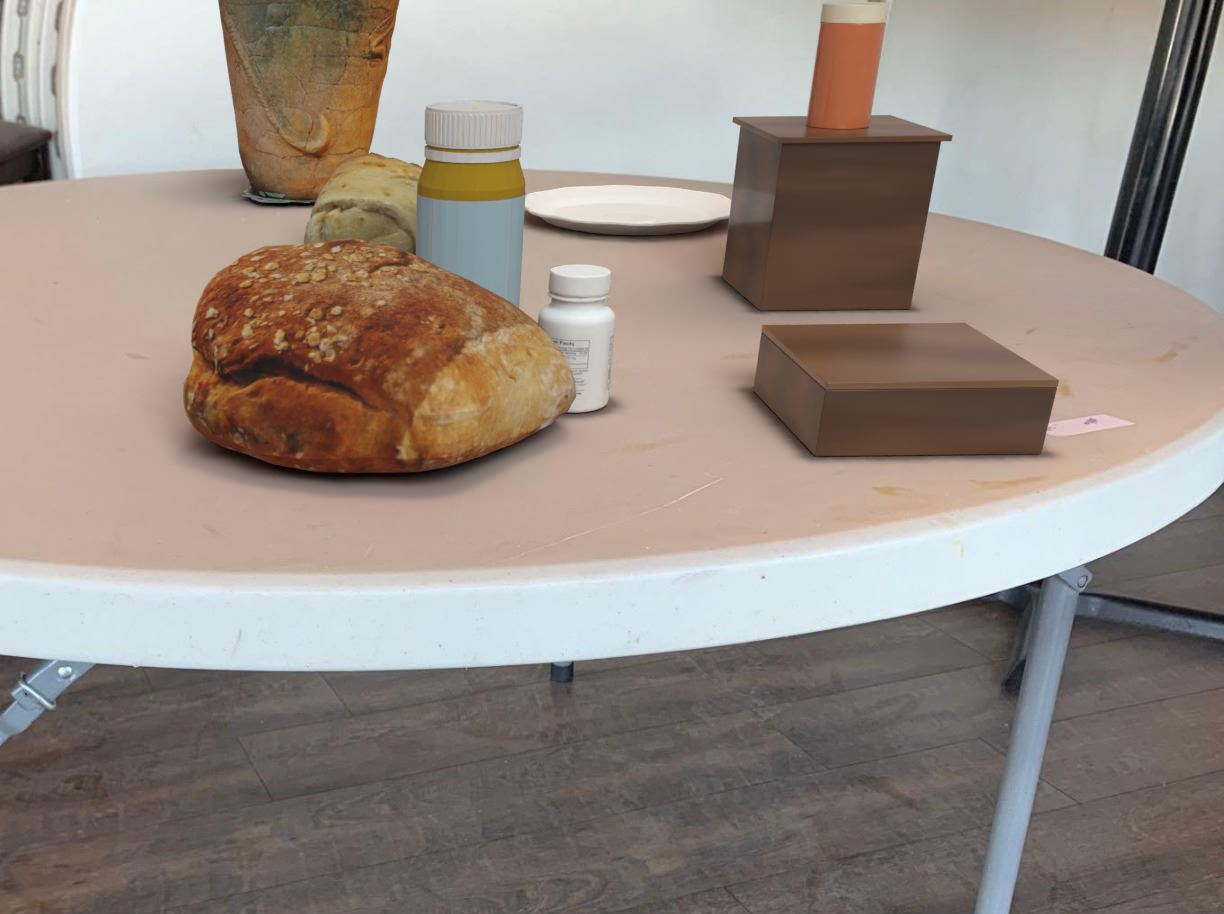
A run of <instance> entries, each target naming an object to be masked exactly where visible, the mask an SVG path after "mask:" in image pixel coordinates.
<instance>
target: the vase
mask: <svg viewBox="0 0 1224 914" xmlns="http://www.w3.org/2000/svg"><path fill="white" fill-rule="evenodd" d="M217 3H218V10H219V16H220V17H219V18H220V24H221V30H222V37H223V45H224V54H225V60H226V61H225V62H226V68H227V73H228V81H229V86H230V93H231V99H232V105H233V112H234V120H235V121H234V122H235V127H236V137H237V147H238V154H239V157H240V162H241V165H242V168H243V170H244V173H245V175H246V177H247V179H248V183H249V185H250V188H248V189H245V190H243V194H242V195H241V196H242V197H246V198H251V200H252V201H257V202H259V203H277V204H278V203H279V204H280V203H281V204H283V203H284V204H285V203H306V204H310V203H315V202H316V200H317V198H318V195H319V193H320V192H321V191H322V189H323V187H324V185H325V183H326V182H327V180H328V178H329V176H330V174H331V172H332V170H333V169H334V168H335V167H336V166H337V165H338V164H339V163H340V162H342V161H344V160H346V159H349V158H351V157H355V156H360V155H365V154H369V153H370V150H371V146H372V143H373V139H374V135H375V129H376V124H377V118H378V112H379V106H380V98H381V94H382V89H383V84H384V81H385V79H386V76H387V72H388V66H389V65H388V64H389V56H390V52H391V49H392V38H393V35H394V31H395V27H396V20H397V15H398V10H399V6H400V5H399V4H400V0H217Z"/></svg>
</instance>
